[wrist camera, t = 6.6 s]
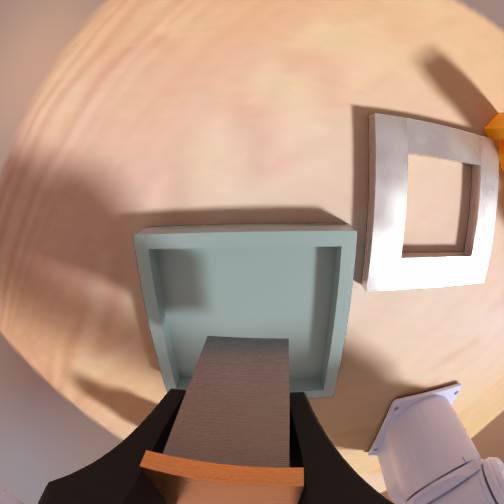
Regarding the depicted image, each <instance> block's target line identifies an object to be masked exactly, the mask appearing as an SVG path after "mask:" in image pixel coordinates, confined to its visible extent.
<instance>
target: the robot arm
mask: <svg viewBox="0 0 504 504" xmlns="http://www.w3.org/2000/svg"><path fill="white" fill-rule="evenodd" d="M461 387H462V385H461V384H460V383H457V384H454V385H451V386H447V387H444V388H440V389H436V390H433V391H429V392H425V393H421V394H416V395H412V396H407V397H403V398H398V399H395V400H394V401H393V402H392V404H391V406H390V409H389V411H388V413H387V415H386V418H385V420H384V422H383V424H382V426H381V428H380V431H379V433H378V435H377V437H376V439H375V441H374V443H373V445H372V447H371V448H370V450H369V452H368V455H369V456H375V455H377V456H378V460H379V463H380V467H381V470H382V474H383V477H384V481H385V485H386V488H387V492H388V495H389V497H390V498H391V499H392V501H393V502H395V503H396V504H504V464H503V463H502V461H501V460H500V459H499V458H496V457H495V458H492V457H488V458H487V459H486V460H483V459H481V458H480V455H479V453H478V452H477V450H476V448H475V446H474V444H473V442H472V440H471V438H470V437H469V435H468V433H467V431H466V429H465V428H464V426H463V424H462V422H461V421H460V419H459V417H458V415H457V414H456V412H455V410H454V409H453V407H452V404H453V402H454V401H455V399H456V397H457V395H458V393H459V391H460V390H461ZM185 393H186V390H183V389H173V388H171V389H170V390H169V391H168V393H167V394H166V395H165V396H164V398H163V399H162V400H161V401H160V403H159V404H158V405H157V406H156V407H155V409H154V410H153V411H152V412H151V413H150V414H149V415H148V417H147V418H146V419H145V420H144V421H143V422H142V423H141V424H140V425H139V426H138V427H137V428H136V429H135V430H134V431H133V432H132V433H131V434H130V435H129V436H128V437H127V438H126V439H125V440H123V441H122V442H121V443H120V444H119V445H118V446H116V447H115V448H114V449H113V450H111V451H110V452H108V453H107V454H106V455H104V456H103V457H101V458H100V459H98V460H97V461H95V462H93V463H92V464H90V465H88V466H86V467H84V468H82V469H80V470H78V471H76V472H74V473H72V474H70V475H68V476H65V477H62V478H59V479H57V480H54V481H51V482H49V483H48V485H47V486H46V488H45V490H44V492H43V494H42V496H41V498H40V500H39V502H38V504H169V503H168V502H167V501H166V500H165V498H164V497H163V496H162V495H161V494H160V492H159V491H158V490H157V489H156V487H155V486H154V485H153V484H152V482H151V481H150V480H149V478H148V477H147V476H146V474H145V473H144V472H143V470H142V469H141V468H140V464H141V461H142V459H143V457H144V454H145V452H146V450H148V451H152V452H156V453H160V454H163V452H164V449H165V446H166V444H167V441H168V438H169V436H170V433H171V430H172V428H173V425H174V422H175V420H176V417H177V414H178V412H179V409H180V406H181V404H182V401H183V399H184V396H185ZM302 467H304V487H303V490H302V493H301V496H300V499H299V502H298V504H394V503H392V502H391V501H389V500H388V499H386V498H385V497H384V496H382V495H381V494H380V493H378V492H377V491H376V490H375V489H374V488H372V487H371V486H370V485H369V484H368V483H367V482H366V481H365V480H364V479H362V478H361V477H360V476H359V475H358V474H357V473H356V472H355V471H354V470H353V468H352V467H351V466H350V465H349V464H348V463H347V462H346V461H345V459H344V458H343V457H342V456H341V454H340V453H339V452H338V450H337V449H336V448H335V446H334V445H333V444H332V442H331V441H330V439H329V438H328V436H327V435H326V433H325V431H324V430H323V428H322V426H321V425H320V423H319V421H318V419H317V418H316V416H315V414H314V412H313V410H312V408H311V405H310V403H309V401H308V398H307V396H306V393H304V392H290V438H289V468H302ZM0 504H23V503H22V502H20V501H19V500H17V499H16V498H15V497H13V496H12V495H11V494H9V493H8V492H6V491H5V490H4V491H3V492H2V494H1V496H0Z"/></svg>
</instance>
